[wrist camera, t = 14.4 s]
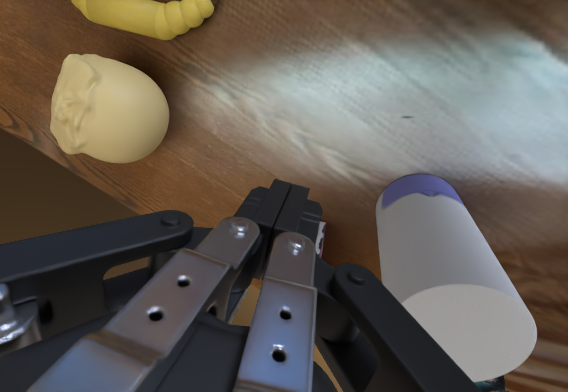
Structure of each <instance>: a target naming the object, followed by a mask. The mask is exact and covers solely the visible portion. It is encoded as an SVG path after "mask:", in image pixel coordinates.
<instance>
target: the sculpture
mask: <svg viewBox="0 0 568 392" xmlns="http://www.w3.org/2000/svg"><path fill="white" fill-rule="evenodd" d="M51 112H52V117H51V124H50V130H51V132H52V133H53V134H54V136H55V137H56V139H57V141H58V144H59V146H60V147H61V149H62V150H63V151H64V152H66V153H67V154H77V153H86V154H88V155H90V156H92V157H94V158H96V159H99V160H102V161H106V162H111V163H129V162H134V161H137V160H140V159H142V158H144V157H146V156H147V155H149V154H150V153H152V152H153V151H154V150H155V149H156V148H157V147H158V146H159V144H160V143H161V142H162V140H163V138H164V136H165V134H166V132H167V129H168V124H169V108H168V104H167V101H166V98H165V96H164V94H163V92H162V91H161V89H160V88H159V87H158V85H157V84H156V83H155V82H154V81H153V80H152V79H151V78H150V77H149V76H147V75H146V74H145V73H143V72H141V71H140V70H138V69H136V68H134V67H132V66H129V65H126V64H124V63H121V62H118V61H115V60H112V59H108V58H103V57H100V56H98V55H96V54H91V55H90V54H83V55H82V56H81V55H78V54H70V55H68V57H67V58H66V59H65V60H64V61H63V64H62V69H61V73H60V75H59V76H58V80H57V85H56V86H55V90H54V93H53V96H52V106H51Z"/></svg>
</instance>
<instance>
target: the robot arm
mask: <svg viewBox="0 0 568 392" xmlns="http://www.w3.org/2000/svg"><path fill="white" fill-rule="evenodd" d="M291 186H292V187H291ZM309 190H310V188H307V187H303V186H300V185H296V184H293V185H292V183H289V182H285V181H282V180H278V179H275V180H274V181H273V183H272V185H271V187H270V188H269V189H268V188H264V187H261V186H259V187H257V188H255V189H253V190H251V192H250V193H249V195H248V196H247V197H246V199H245V200H244V202H243V203H242V205H241V206H240V208H239V209H238V211H237V212H236V213H235V215H234V216H233V217H227V218H225V219H223V220H221V221H220V222H219V223H218V224H217V225H216V227H215V228H201V227H193V219H192V218H191V217H190V216H189V215H188V214H186V213H184V212H181V211H175V210H165V211H159V212H155V213H150V214H145V215H140V216H135V217H131V218H126V219H121V220H116V221H111V222H107V223H102V224H97V225H92V226H87V227H82V228H77V229H73V230H68V231H63V232H58V233H53V234H48V235H44V236H39V237H34V238H29V239H24V240H20V241H15V242H10V243H5V244H0V392H338V391H337V389H336V388H335V386H334V384H333V382H332V381H331V380H330V378H329V377H328V375H327V374H326V373H325V372H324V371H323V369H322V368H321V367H320V366H319V365H318V364H317V363H316V362H315V361H313V359H314V343H315V345H316V346H317V348H318V350H319V351H320V353H321V355H322V356H323V358H324V360H325V361H326V363H327V365H328V367H329V368H330V370H331V372H332V373H333V375H334V377H335V378H336V380H337V382H338V383H339V385H340V387H341V388H342V390H343V392H482V391H481V390H480V389H479V388H478V387H477V385H476V384H475V383H474V382H473V381H472V380H471V379H470V378H469V377H468V376H467V375H466V374H465V372H464V371H463V370H462V369H461V368H460V367H459V366H458V365H457V364H456V363H455V362H454V361H453V359H452V358H451V357H450V356H449V355H448V354H447V353H446V352H445V351H444V350H443V349H442V348H441V347H440V345H439V344H438V343H437V342H436V341H435V340H434V339H433V338H432V337H431V336H430V335H429V334H428V332H427V331H426V330H425V329H424V328H423V327H422V326H421V325H420V324H419V323H418V322H417V321H416V319H415V318H414V317H413V316H412V315H411V314H410V313H409V312H408V311H407V310H406V309H405V308H404V306H403V305H402V304H401V303H400V302H399V301H398V300H397V299H396V298H395V297H394V296H393V295H392V293H391V292H390V291H389V290H388V289H387V288H386V287H385V286H384V285H383V284H382V283H381V282H380V281H379V279H378V278H377V277H376V276H375V275H374V274H373V273H372V272H371V271H369V270H368V269H366V268H365V267H363V266H360V265H358V264H354V263H343V264H340V265H338V266H337V267H336V268H335V267H333V266H331V265H329V264H328V263H326V262H325V261H323V260H322V259H321V258H320V257H319V255H318V254H317V252H316V247H315V245H316V240H317V235H318V230H319V225H320V220H321V216H322V211H323V210H322V208H321V206H320V204H319V203H318V202H314V201H311V200H307V197H308V193H309ZM145 257H148V267H146V268H142V269H139V270H135V271H132V272H129V273H126V274H123V275H119V276H116V277H113V278H110V279H106V280H103V276H104V274H105V273H106V272H107V271H108V270H109V269H110V268H112V267H114V266H117V265H121V264H124V263H127V262H131V261H134V260H138V259H141V258H145ZM263 271H264V273H263ZM262 273H263V277H262V280H263V283H262V286H261V290H260V294H259V298H258V301H257V305H256V309H255V312H254V316H253V319H252V323H251V327H249V326H237V325H230V323H231V321H232V319H233V318H234V316H235V314H236V312H237V311H238V309H239V307H240V305H241V303H242V301H243V300H244V298H245V296H246V294H247V290H248V286H249V285H250V284H251V281H252V279H253V278H256V279H259V280H260V278H261V276H262ZM359 331H360V332H361V333H362V334H363V336H364V337H365V338H366V340H367V341H368V343H369V344H370V345H371V347H372V348H373V349H374V351H375V353H376V355H375V353H374V352H373V351H372V349H371V348H370V347H369V345H368V344H367V343H366V341H365V340H364V339H363V337H362V336H361V334H360V333H359Z"/></svg>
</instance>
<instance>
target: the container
mask: <svg viewBox="0 0 568 392" xmlns="http://www.w3.org/2000/svg"><path fill="white" fill-rule="evenodd" d="M376 222H377V233H378V244H379V255H380V266H381V277H382V284H383V285H384V286H385V287H386V288H387V289H388V290H389V291H390V292H391V293H392V295H393V296H394V297H395V298H396V299H397V300H398V301H399V302H400V303H401V304H402V305H403V306H404V308H405V309H406V310H407V311H408V312H409V313H410V314H411V315H412V316H413V317H414V318H415V319H416V321H417V322H418V323H419V324H420V325H421V326H422V327H423V328H424V329H425V330H426V331H427V332H428V334H429V335H430V336H431V337H432V338H433V339H434V340H435V341H436V342H437V343H438V344H439V345H440V347H441V348H442V349H443V350H444V351H445V352H446V353H447V354H448V355H449V356H450V357H451V358H452V359H453V361H454V362H455V363H456V364H457V365H458V366H459V367H460V368H461V369H462V370H463V371H464V372H465V374H466V375H467V376H468V377H469V378H470V379H471V380H472V381H473V382H479V381H485V380H489V379H493V378H496V377H499V376H502V375H504V374H506V373H508V372H510V371H512V370H514V369H515V368H517V367H518V366H519V365H521V364H522V363H523V362H524V361H525V360H526V359H527V358H528V357H529V355H530V354H531V352H532V351H533V349H534V346H535V343H536V339H537V328H536V324H535V321H534V319H533V317H532V315H531V314H530V312H529V310H528V309H527V307H526V306H525V304H524V302H523V301H522V299H521V297H520V296H519V294H518V292H517V291H516V289H515V288H514V286H513V284H512V283H511V281H510V279H509V278H508V276H507V274H506V273H505V271H504V270H503V268H502V266H501V265H500V263H499V261H498V260H497V258H496V256H495V255H494V253H493V252H492V250H491V248H490V247H489V245H488V243H487V242H486V240H485V238H484V237H483V235H482V234H481V232H480V230H479V229H478V227H477V225H476V224H475V222H474V220H473V219H472V217H471V216H470V214H469V212H468V211H467V209H466V207H465V206H464V204H463V202H462V201H461V199H460V197H459V196H458V194H457V193H456V191H455V190H454V188H453V187H452V186H451V185H450V184H449V183H447V182H446V181H444V180H443V179H441V178H438V177H435V176H432V175H426V174H415V175H409V176H405V177H403V178H400V179H398V180H396V181H394V182H393V183H391V184H390V185H389V186H388V187H386V188H385V190H384V191H383V192H382V193H381V195H380V197H379V199H378V201H377V204H376Z"/></svg>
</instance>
